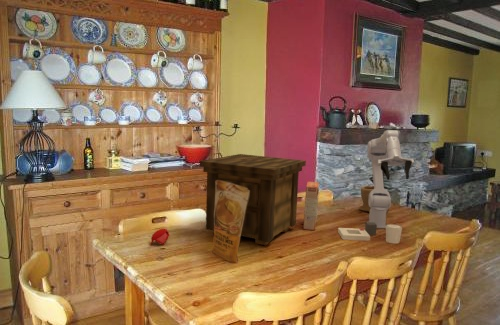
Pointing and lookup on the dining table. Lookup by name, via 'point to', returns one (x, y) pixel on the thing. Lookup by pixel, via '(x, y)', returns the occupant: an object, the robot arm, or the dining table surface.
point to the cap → (160, 236)
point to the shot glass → (393, 233)
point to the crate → (258, 192)
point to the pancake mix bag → (229, 218)
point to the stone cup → (366, 198)
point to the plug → (371, 228)
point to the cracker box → (311, 205)
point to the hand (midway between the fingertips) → (398, 178)
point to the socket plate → (353, 234)
